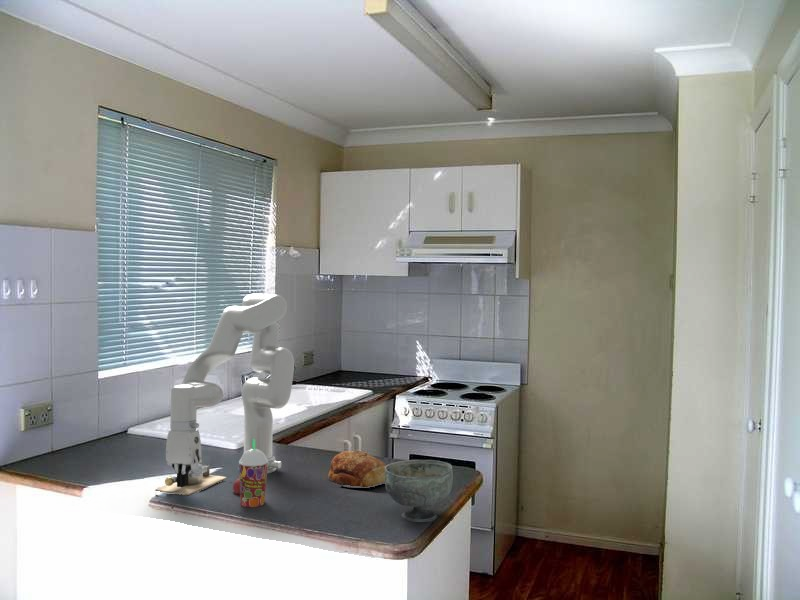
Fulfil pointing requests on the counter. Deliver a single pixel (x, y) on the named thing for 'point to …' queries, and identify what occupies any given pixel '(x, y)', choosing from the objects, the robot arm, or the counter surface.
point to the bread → (357, 469)
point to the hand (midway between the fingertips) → (182, 485)
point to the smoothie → (253, 477)
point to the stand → (191, 489)
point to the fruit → (236, 486)
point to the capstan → (190, 476)
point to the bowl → (419, 486)
